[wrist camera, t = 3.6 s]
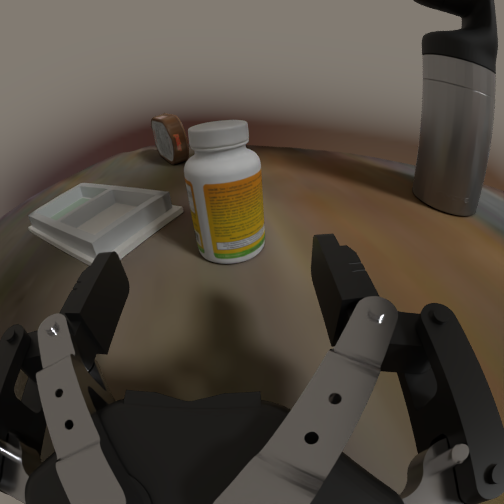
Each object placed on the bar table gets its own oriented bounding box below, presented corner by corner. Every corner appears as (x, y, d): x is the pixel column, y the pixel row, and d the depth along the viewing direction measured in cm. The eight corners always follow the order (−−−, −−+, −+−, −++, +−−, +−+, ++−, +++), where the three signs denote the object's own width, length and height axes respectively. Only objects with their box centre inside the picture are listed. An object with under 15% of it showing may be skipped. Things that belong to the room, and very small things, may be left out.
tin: (193, 165, 42) (185, 114, 38) (174, 170, 41) (166, 118, 36) (169, 150, 53) (162, 112, 48) (154, 154, 52) (147, 115, 47)
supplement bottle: (277, 238, 23) (273, 118, 18) (239, 275, 20) (224, 133, 14) (225, 223, 26) (213, 118, 20) (185, 253, 22) (160, 133, 17)
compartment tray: (85, 195, 37) (81, 181, 36) (183, 211, 28) (179, 190, 27) (29, 231, 29) (23, 216, 28) (103, 273, 21) (93, 249, 19)
